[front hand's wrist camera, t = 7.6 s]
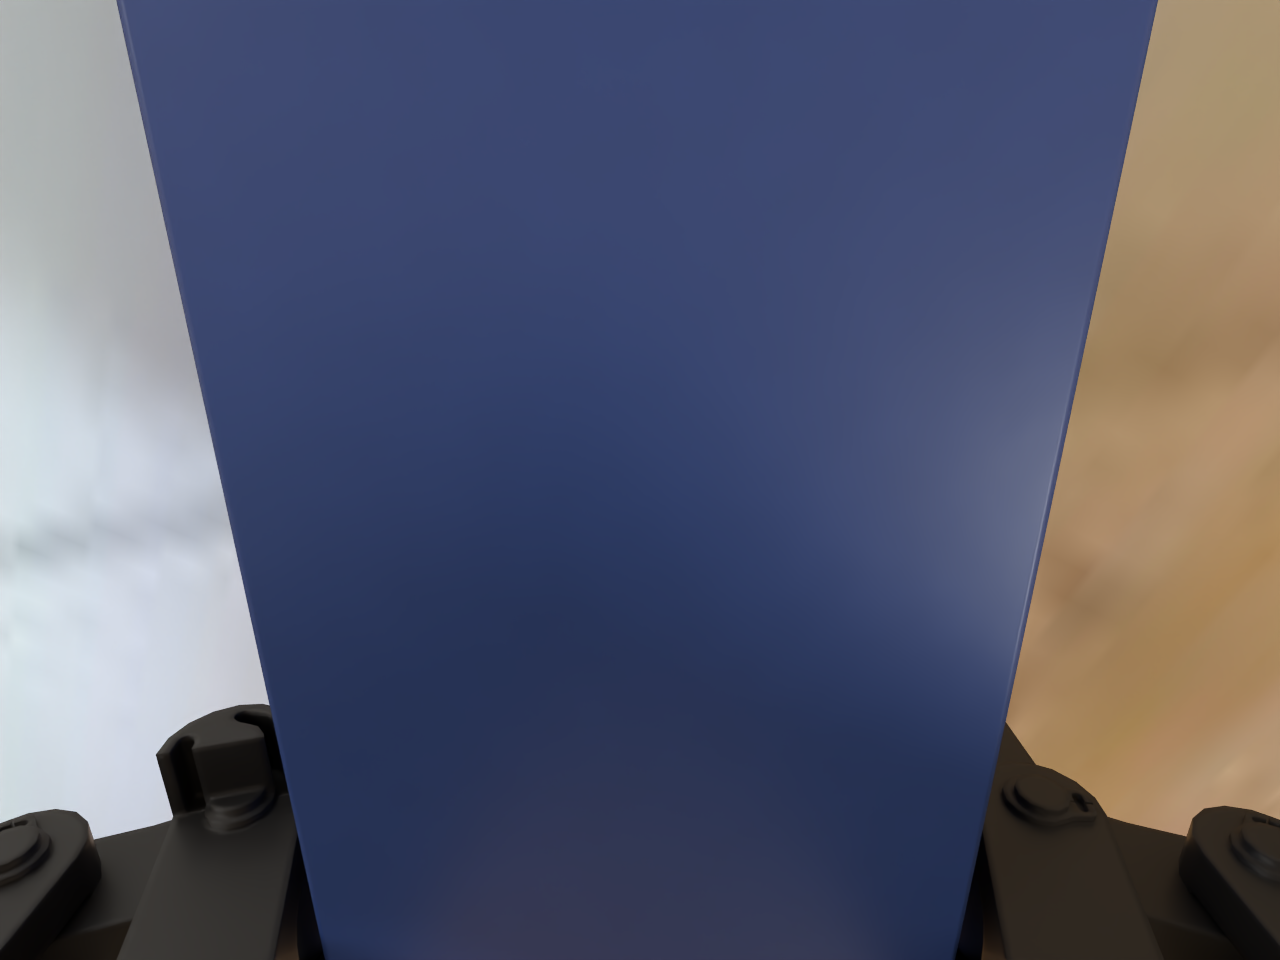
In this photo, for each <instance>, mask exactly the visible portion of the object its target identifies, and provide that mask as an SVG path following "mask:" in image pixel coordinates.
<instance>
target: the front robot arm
mask: <svg viewBox="0 0 1280 960" xmlns="http://www.w3.org/2000/svg"><path fill="white" fill-rule="evenodd" d="M156 757H157V760H158V764H159V768H160V771H161V775H162V778H163V782H164V785H165V789H166V792H167V796H168V799H169V803H170V806H171V810H172V813H173V819H172V820H171V821H167V822H164V823H161V824H157V825H154V826H150V827H146V828H142V829H137V830H133V831H129V832H125V833H120V834H116V835H112V836H108V837H103V838H99V839H95V840H94V839H93V836H92V833H91V830H90V827H89V824H88V821H86V820H85V819H84V818H83V817H82V816H80V815H79V814H78V813H77V812H73V811H66V810H59V809H53V810H47V811H40V812H34V813H28V814H25V815H22V816H20V817H17V818H14V819H11V820H8V821H6V822H3V823H0V960H325V957H324V952H323V948H322V943H321V939H320V934H319V929H318V925H317V920H316V916H315V911H314V906H313V902H312V897H311V893H310V888H309V883H308V879H307V874H306V870H305V865H304V860H303V856H302V851H301V847H300V842H299V837H298V833H297V828H296V824H295V819H294V814H293V810H292V805H291V801H290V796H289V791H288V787H287V782H286V778H285V773H284V769H283V764H282V759H281V755H280V750H279V746H278V741H277V736H276V732H275V727H274V723H273V718H272V713H271V709H270V706H269V705H265V704H252V705H238V706H234V707H230V708H226V709H222V710H219V711H215V712H212V713H210V714H208V715H206V716H203V717H201V718H199V719H197V720H195V721H193V722H190V723H189V724H187V725H186V726H184V727H183V728H182V729H180V730H179V731H178V732H176V733H175V734H174V735H172V736H171V737H170V738H168V740H167V741H166V742H165V744H164V745H163V746H162V747H161V749H160V750H159V751H158V753H157V754H156ZM955 960H1280V820H1279V819H1276V818H1273V817H1271V816H1267V815H1265V814H1262V813H1259V812H1256V811H1253V810H1249V809H1242V808H1236V807H1229V806H1220V807H1213V808H1206V809H1203V810H1202V811H1201V812H1200V813H1198V814H1197V815H1196V816H1195V817H1194V818H1193V819H1192V822H1191V825H1190V828H1189V831H1188V834H1187V837H1186V836H1182V835H1177V834H1173V833H1169V832H1164V831H1160V830H1156V829H1152V828H1147V827H1143V826H1139V825H1134V824H1130V823H1126V822H1123V821H1119V820H1116V819H1113V818H1110V817H1107V815H1106V814H1105V812H1104V811H1103V809H1102V808H1101V806H1100V805H1099V803H1098V802H1097V800H1096V799H1095V797H1093V796H1092V795H1091V794H1090V793H1089V792H1087V791H1086V790H1085V789H1084V788H1083V787H1081V786H1080V785H1079V784H1078V783H1077V782H1075V781H1073V780H1071V779H1070V778H1068V777H1066V776H1064V775H1062V774H1060V773H1058V772H1056V771H1054V770H1052V769H1049V768H1045V767H1042V766H1039V765H1036V764H1035V763H1034V761H1033V760H1032V759H1031V757H1030V756H1029V754H1028V753H1027V752H1026V750H1025V749H1024V747H1023V746H1022V744H1021V743H1020V742H1019V740H1018V739H1017V737H1016V736H1015V735H1014V733H1013V732H1012V730H1011V729H1010V727H1009V726H1008V725H1007V723H1006V722H1005V726H1004V731H1003V736H1002V740H1001V745H1000V750H999V755H998V759H997V764H996V769H995V774H994V778H993V783H992V788H991V792H990V797H989V802H988V807H987V811H986V816H985V821H984V826H983V830H982V835H981V840H980V845H979V849H978V854H977V859H976V863H975V868H974V873H973V878H972V882H971V887H970V892H969V897H968V901H967V906H966V911H965V916H964V920H963V925H962V930H961V934H960V939H959V944H958V949H957V953H956V958H955Z"/></svg>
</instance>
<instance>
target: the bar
mask: <svg viewBox="0 0 1280 960" xmlns="http://www.w3.org/2000/svg"><path fill="white" fill-rule="evenodd" d="M1157 2H1158V0H117V5H118V10H119V14H120V19H121V23H122V28H123V33H124V37H125V42H126V46H127V51H128V56H129V60H130V65H131V69H132V74H133V79H134V83H135V88H136V92H137V97H138V102H139V106H140V111H141V115H142V120H143V125H144V129H145V134H146V138H147V143H148V148H149V152H150V157H151V161H152V166H153V171H154V175H155V180H156V184H157V189H158V194H159V198H160V203H161V207H162V212H163V217H164V221H165V226H166V230H167V235H168V240H169V244H170V249H171V253H172V258H173V263H174V267H175V272H176V276H177V281H178V286H179V290H180V295H181V299H182V304H183V309H184V313H185V318H186V322H187V327H188V332H189V336H190V341H191V345H192V350H193V355H194V359H195V364H196V368H197V373H198V378H199V382H200V387H201V391H202V396H203V401H204V405H205V410H206V414H207V419H208V424H209V428H210V433H211V437H212V442H213V447H214V451H215V456H216V460H217V465H218V470H219V474H220V479H221V483H222V488H223V493H224V497H225V502H226V506H227V511H228V516H229V520H230V525H231V529H232V534H233V539H234V543H235V548H236V552H237V557H238V562H239V566H240V571H241V575H242V580H243V585H244V589H245V594H246V598H247V603H248V608H249V612H250V617H251V621H252V626H253V631H254V635H255V640H256V644H257V649H258V654H259V658H260V663H261V667H262V672H263V677H264V681H265V686H266V690H267V695H268V700H269V704H270V709H271V713H272V718H273V723H274V727H275V732H276V736H277V741H278V746H279V750H280V755H281V759H282V764H283V769H284V773H285V778H286V782H287V787H288V791H289V796H290V801H291V805H292V810H293V814H294V819H295V824H296V828H297V833H298V837H299V842H300V847H301V851H302V856H303V860H304V865H305V870H306V874H307V879H308V883H309V888H310V893H311V897H312V902H313V906H314V911H315V916H316V920H317V925H318V929H319V934H320V939H321V943H322V948H323V952H324V957H325V960H955V958H956V953H957V949H958V944H959V939H960V934H961V930H962V925H963V920H964V916H965V911H966V906H967V901H968V897H969V892H970V887H971V882H972V878H973V873H974V868H975V863H976V859H977V854H978V849H979V845H980V840H981V835H982V830H983V826H984V821H985V816H986V811H987V807H988V802H989V797H990V792H991V788H992V783H993V778H994V774H995V769H996V764H997V759H998V755H999V750H1000V745H1001V740H1002V736H1003V731H1004V726H1005V721H1006V717H1007V712H1008V707H1009V703H1010V698H1011V693H1012V688H1013V684H1014V679H1015V674H1016V669H1017V665H1018V660H1019V655H1020V650H1021V646H1022V641H1023V636H1024V632H1025V627H1026V622H1027V617H1028V613H1029V608H1030V603H1031V598H1032V594H1033V589H1034V584H1035V579H1036V575H1037V570H1038V565H1039V561H1040V556H1041V551H1042V546H1043V542H1044V537H1045V532H1046V527H1047V523H1048V518H1049V513H1050V508H1051V504H1052V499H1053V494H1054V490H1055V485H1056V480H1057V475H1058V471H1059V466H1060V461H1061V456H1062V452H1063V447H1064V442H1065V437H1066V433H1067V428H1068V423H1069V419H1070V414H1071V409H1072V404H1073V400H1074V395H1075V390H1076V385H1077V381H1078V376H1079V371H1080V366H1081V362H1082V357H1083V352H1084V348H1085V343H1086V338H1087V333H1088V329H1089V324H1090V319H1091V314H1092V310H1093V305H1094V300H1095V295H1096V291H1097V286H1098V281H1099V277H1100V272H1101V267H1102V262H1103V258H1104V253H1105V248H1106V243H1107V239H1108V234H1109V229H1110V224H1111V220H1112V215H1113V210H1114V206H1115V201H1116V196H1117V191H1118V187H1119V182H1120V177H1121V172H1122V168H1123V163H1124V158H1125V153H1126V149H1127V144H1128V139H1129V135H1130V130H1131V125H1132V120H1133V116H1134V111H1135V106H1136V101H1137V97H1138V92H1139V87H1140V83H1141V78H1142V73H1143V68H1144V64H1145V59H1146V54H1147V49H1148V45H1149V40H1150V35H1151V30H1152V26H1153V21H1154V16H1155V12H1156V7H1157Z"/></svg>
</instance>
